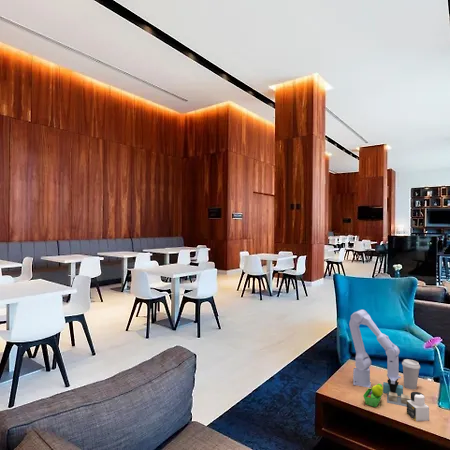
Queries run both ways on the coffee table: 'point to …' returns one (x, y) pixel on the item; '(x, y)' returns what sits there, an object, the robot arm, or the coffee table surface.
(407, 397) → the pillar far
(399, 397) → the build plate
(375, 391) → the fruit basket
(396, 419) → the coffee table surface
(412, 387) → the coffee cup
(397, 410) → the coffee table surface
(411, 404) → the medicine bottle
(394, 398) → the pillar near arm
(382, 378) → the coffee table surface
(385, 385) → the lintel
